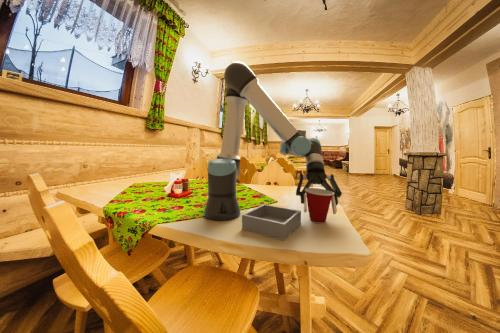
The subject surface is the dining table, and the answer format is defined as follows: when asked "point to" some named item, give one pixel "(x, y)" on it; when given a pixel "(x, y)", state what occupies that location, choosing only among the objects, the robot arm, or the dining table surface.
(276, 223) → the bin
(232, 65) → the robot arm
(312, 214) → the plastic cup
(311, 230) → the dining table surface
